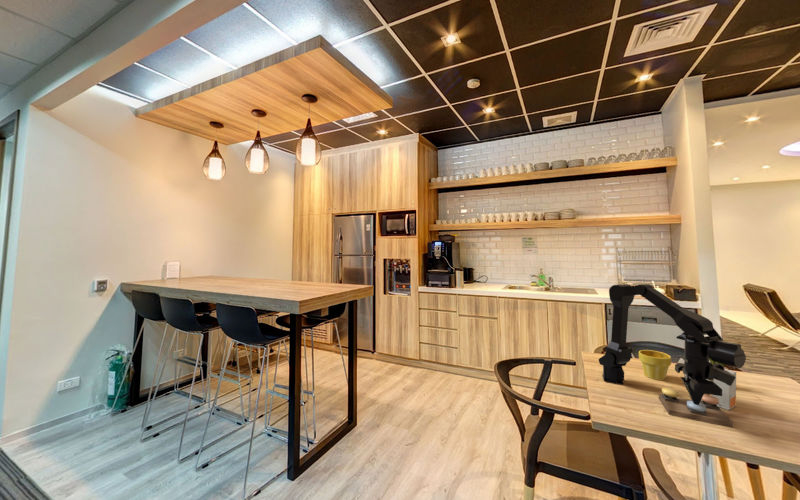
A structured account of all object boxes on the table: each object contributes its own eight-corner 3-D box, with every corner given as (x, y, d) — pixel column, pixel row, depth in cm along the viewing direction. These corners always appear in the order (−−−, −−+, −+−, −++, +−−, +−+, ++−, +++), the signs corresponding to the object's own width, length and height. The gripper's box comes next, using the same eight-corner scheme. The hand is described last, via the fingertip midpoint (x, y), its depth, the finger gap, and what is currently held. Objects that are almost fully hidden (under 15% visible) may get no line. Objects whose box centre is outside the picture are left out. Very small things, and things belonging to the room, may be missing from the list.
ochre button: (663, 398, 105) (664, 391, 105) (660, 392, 108) (660, 386, 108) (680, 401, 102) (680, 394, 102) (676, 395, 106) (676, 389, 106)
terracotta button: (703, 405, 100) (703, 398, 100) (697, 399, 104) (697, 392, 104) (721, 408, 98) (721, 401, 98) (715, 402, 102) (715, 395, 102)
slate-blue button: (689, 412, 97) (689, 405, 97) (684, 406, 101) (684, 399, 101) (708, 416, 95) (708, 409, 95) (702, 409, 99) (702, 402, 99)
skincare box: (729, 411, 101) (730, 375, 101) (712, 405, 105) (712, 370, 104) (736, 406, 104) (736, 371, 103) (719, 400, 107) (719, 367, 107)
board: (668, 414, 99) (668, 407, 99) (658, 398, 109) (658, 391, 109) (733, 427, 92) (733, 419, 92) (715, 408, 102) (715, 401, 102)
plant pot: (643, 380, 124) (643, 356, 124) (635, 370, 134) (635, 348, 134) (675, 384, 120) (675, 359, 120) (664, 374, 130) (664, 351, 130)
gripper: (747, 371, 86) (747, 426, 86) (717, 351, 102) (717, 397, 102) (695, 364, 91) (694, 416, 91) (674, 346, 107) (674, 390, 108)
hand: (696, 404), depth 98 cm, fingers closed, pressing on slate-blue button
